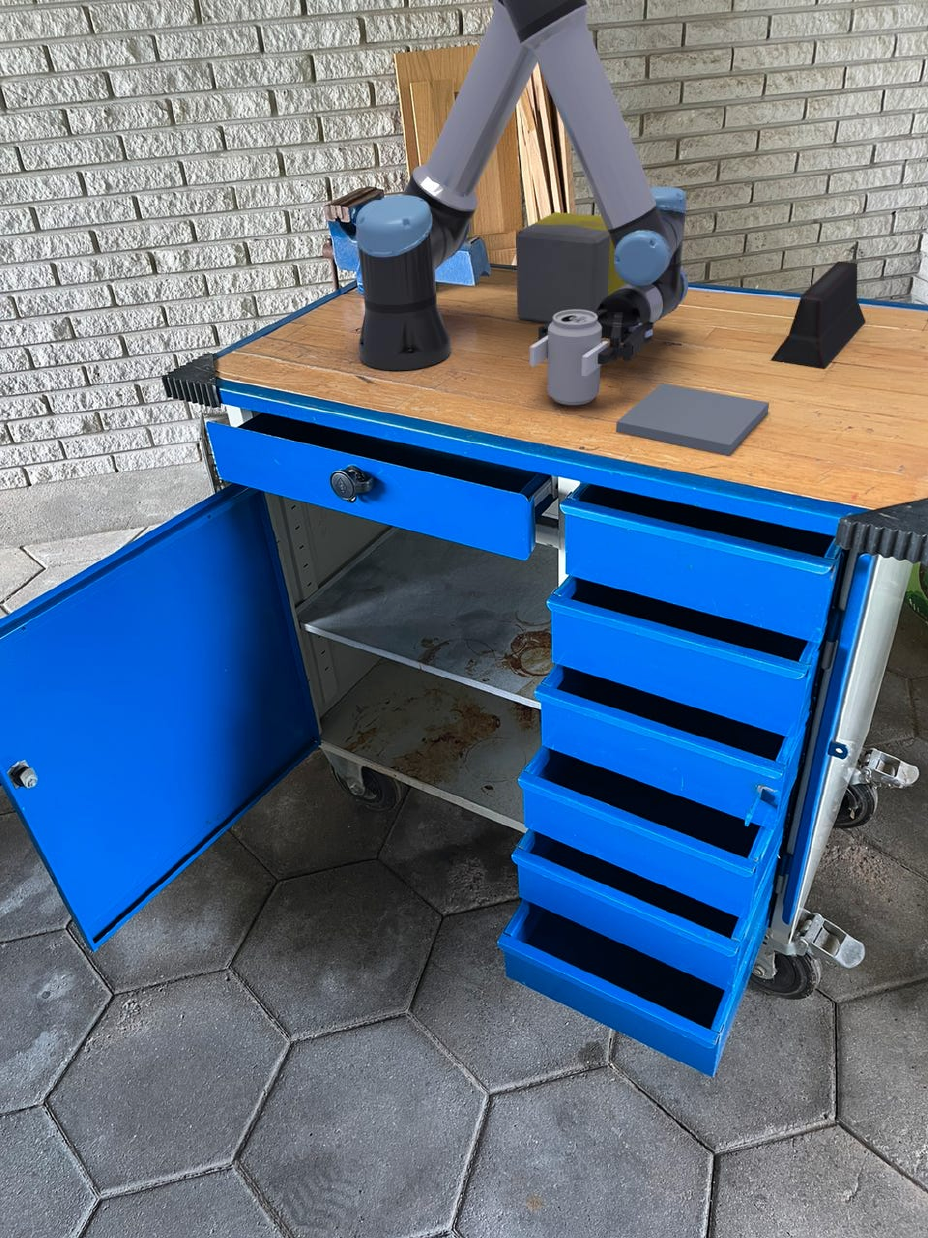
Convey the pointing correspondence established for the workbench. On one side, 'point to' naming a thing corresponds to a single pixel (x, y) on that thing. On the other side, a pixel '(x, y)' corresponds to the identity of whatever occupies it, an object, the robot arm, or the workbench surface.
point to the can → (572, 356)
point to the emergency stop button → (564, 266)
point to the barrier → (824, 319)
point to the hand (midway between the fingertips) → (557, 361)
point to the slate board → (693, 418)
